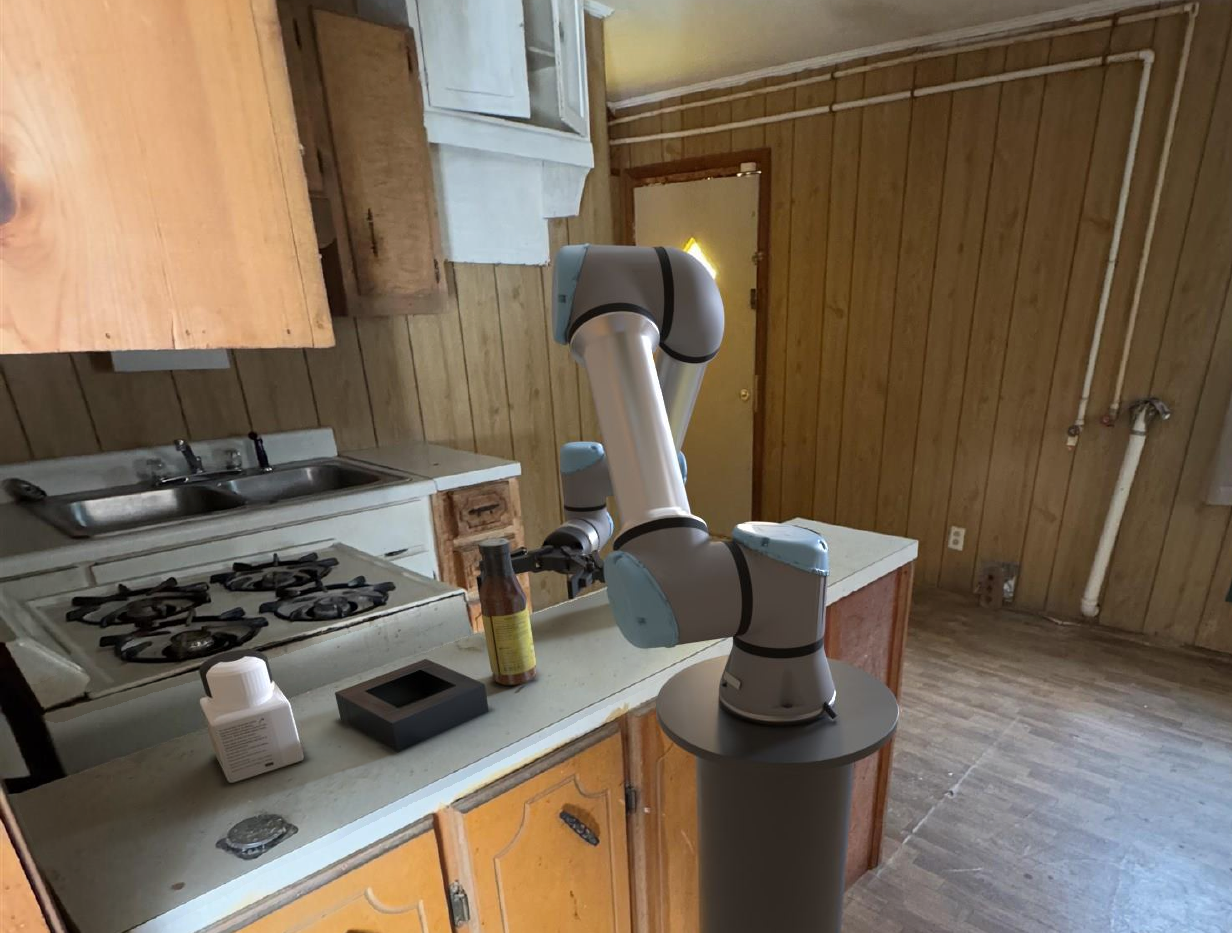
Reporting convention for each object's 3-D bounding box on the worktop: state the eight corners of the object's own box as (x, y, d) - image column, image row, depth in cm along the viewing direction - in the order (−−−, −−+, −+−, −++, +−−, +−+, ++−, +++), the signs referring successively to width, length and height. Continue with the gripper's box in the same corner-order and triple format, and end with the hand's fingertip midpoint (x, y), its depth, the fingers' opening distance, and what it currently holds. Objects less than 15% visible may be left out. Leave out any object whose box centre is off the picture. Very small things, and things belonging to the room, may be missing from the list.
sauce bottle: (546, 673, 112) (532, 538, 104) (518, 690, 107) (501, 550, 99) (509, 665, 114) (493, 533, 106) (480, 682, 109) (461, 544, 101)
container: (216, 756, 91) (184, 655, 86) (288, 735, 96) (262, 637, 90) (229, 785, 86) (196, 678, 80) (305, 761, 90) (279, 658, 85)
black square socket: (488, 711, 101) (485, 683, 100) (397, 752, 92) (392, 723, 90) (430, 684, 109) (426, 658, 107) (340, 720, 99) (334, 692, 98)
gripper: (643, 571, 132) (610, 616, 113) (502, 565, 135) (446, 608, 116) (641, 528, 129) (606, 566, 110) (497, 523, 132) (439, 559, 113)
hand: (524, 588), depth 113 cm, fingers open, 13 cm apart
